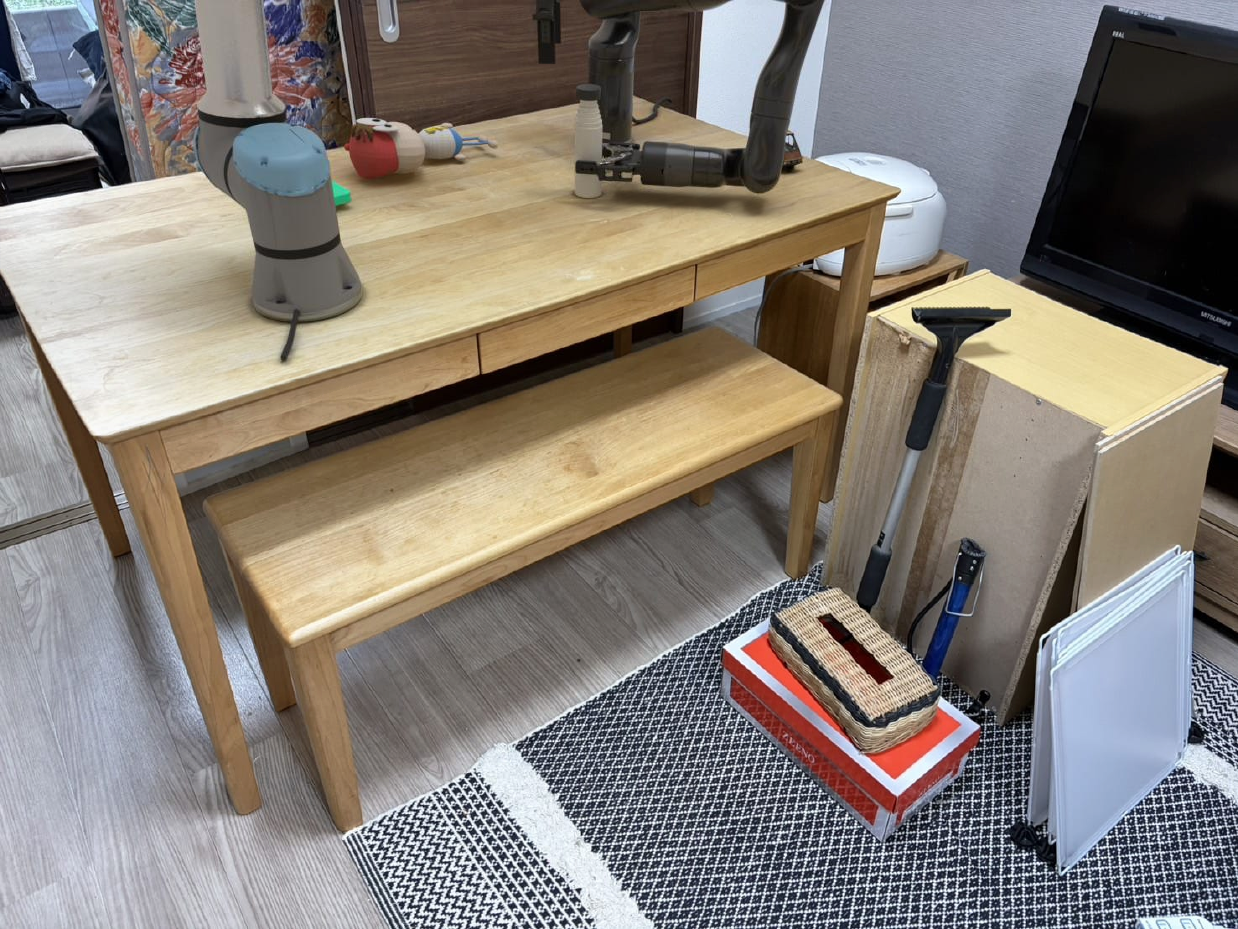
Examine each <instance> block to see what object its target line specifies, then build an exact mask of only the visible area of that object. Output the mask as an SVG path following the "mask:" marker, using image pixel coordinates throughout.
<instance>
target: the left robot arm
mask: <svg viewBox="0 0 1238 929" xmlns="http://www.w3.org/2000/svg"><path fill="white" fill-rule="evenodd" d="M193 1H194V9H195V16H196V24H197V30H198V37H199V38H198V39H199V44H200V51H201V59H202V66H203V67H202V68H203V74H204V80H205V87H206V88H205V89H206V92H205V93H204V94H203V96H202V97H201V98H200V99H199V100H198V101H197V103H196V109H197V114H198V125H197V126H196V127H195V131H194V134H193V141H192V145H193V146H192V147H193V153H194V157H195V160H196V163H197V165H198V167H199V168H200V171H201V172H202V173H203V175H204V176H205V178H206V179H207V180H208V181H209V182H210V183H211V184H212V185H213V186H214V188H216V189H218V190H219V191H221V192H222V193H223V194H225V195H226V196H228V197H229V198H230V199H232V201H234V202H235V203H236V204H238V205H239V206H240V207H241V208H243V209H244V210H245V213H246V215H247V219H248V220H247V221H248V224H249V228H250V234H251V237H252V242H253V247H254V251H255V258H254V264H253V273H252V283H251V299H252V303H253V307H254V309H255V310H256V311H257V313H259V314H260V315H262V316H264V317H266V318H268V319H271V320H275V321H281V322H289V323H290V327H289V331H288V336H287V340H286V343H285V345H284V348H283V349H282V352H281V354H280V358H279V359H280V360H281V361H286V360H287V358H288V356H289V353H290V351H291V350H292V346H293V343H294V340H295V337H296V336H295V335H296V331H297V326H298V323H304V322H314V321H315V322H316V321H320V320H326V319H330V318H332V317H336V316H338V315H341V314H343V313H345V312H348V311H349V310H351V309H353V308H354V307H355V306H356V305H357V304H358V303H359V302H360V301H361V298H362V297H363V287H362V282H361V279H360V276H359V274H358V272H357V270H356V268H355V266H354V264H353V263H352V261H351V259H350V257H349V255H348V253H347V251H346V250H345V248H344V245H343V243H342V239H341V233H340V225H339V219H338V213H337V206H335V200H334V193H333V187H332V181H333V180H332V174H331V169H332V168H331V162H330V160H329V156H328V154H327V151H326V147H325V144H324V142H323V140H322V138H320V136H319V135H317V133H315V132H313V130H310V129H309V128H307V127H304V126H301V125H291V124H290V123H288V116H287V107H286V104H285V103H284V102H283V101H282V100H280V98H279V97H278V96H277V95H275V93H274V90H273V80H272V70H271V62H270V51H269V41H268V30H267V22H266V13H265V2H264V0H193ZM564 1H565V0H535V13H533V14H532V21H533V22H535V21H536V27H537V28H536V29H537V30H536V31H537V52H538V53H537V57H538V61H537V62H538V65H556V45H559V44H562V21H561V18H562V16H561V15H562V14H561V2H564Z"/></svg>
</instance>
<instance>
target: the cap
mask: <svg viewBox="0 0 1238 929" xmlns="http://www.w3.org/2000/svg"><path fill="white" fill-rule="evenodd" d="M575 90H576V91H575V93H576V94H575V95H576V97H575V98H576V99H577V100H579V101H580V100H584V101H595V100H599V99H600V98H601V87H600V86H598V85H595V84H588V83H582V84H578V85H577V86H576V89H575Z"/></svg>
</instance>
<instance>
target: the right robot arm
mask: <svg viewBox="0 0 1238 929" xmlns="http://www.w3.org/2000/svg"><path fill="white" fill-rule="evenodd" d="M732 1H733V0H578V2H579V3H580V6H581V7H582V10H583V11H584V12H585V13H586V14H587V15H589V16H590V17H591V18H594V19H597V20H600V21H602V23H601V25H600V27H599V29H598V30H597V31H596V32H595V33H594V34H593V35H592V36H590V37H589V40H588V48H587V50H588V54H587V57H588V58H587V61H588V62H587V66H588V67H587V68H588V70H587V76H588V77H587V79H588V80H587V84H595V85H598V86H600V87H601V98H600V99H599V100H597V105H598V109H599V111H600V115H601V119H602V161H598V162H597V164H596V161H585V160H577V161H576V163H575V162H574V173H575V172H576V173H577V174H590V175H596V176H597V177H598V180H599V181H602V182H617V183H632V182H633V177H634V176H639V177H640V183H641V185H644V186H653V187H654V186H656V187H667V188H668V187H670V188H687V187H688V188H690V187H692V188H707V189H716V188H721V187H725V186H727V187H729V186H730V187H741V188H742V187H743V188H745V189H746V190H748V191H749V192H751V193H754V194H760V195H761V194H762V195H763V194H766V193H768V192H770V191H771V190H773V189H774V188H775V187H776V186H777V184H778V183H779V181H780V179H781V174H782V169H783V167H782V164H783V157H784V149H785V141H787V140H786V139H787V136H786V134H787V131H788V130H789V127H790V124H791V118H792V115H793V108H794V104H795V101H796V95H797V90H798V85H799V82H800V81H799V80H800V77H801V74H802V69H803V66H804V62H805V60H806V56H807V54H808V53H807V52H808V51H809V47H810V44H811V41H812V38H813V35H814V32H815V29H816V26H817V23H818V20H819V18H820V15H821V13H822V9H823V6H824V4H825V1H826V0H773V1H775V2H779V3H784V4H785V6H784V15H783V16H784V17H783V20H782V25H781V28H780V32H779V34H778V37H777V40H776V42H775V44H774V46H773V48H772V50H771V52H770V54H769V56H768V57H767V59H766V61H765V63H764V64H763V67H762V68H761V71H760V73H759V75H758V78H757V81H756V84H755V89H754V94H753V99H752V105H751V110H750V114H749V115H750V116H749V131H748V136H747V141H746V145H745V147H731V148H730V147H729V148H724V147H723V148H722V147H716V146H705V145H704V146H702V145H692V144H687V143H681V142H665V141H652V140H651V141H650V140H649V141H648V140H645V141H644V142H643V144H642V147H641V144H640V143H634V142H633V135H632V134H633V124H637V125H641V124H645V123H648V122H649V121H650V120H653V119H654V118H655V117H657V115H658V113H659V110H658V107H659V106H660V105H661V104H663V103H664V102H668V103H671V104H673V103H674V101H673V99H672V97H669V96H664V97H662V98H661V99H659V100H658V101H657V102H656V103H654V104H653V113H651V114H649V115H648V116H646V117H645V118H641V119H637V118H635V117H634V116H633V112H634V111H633V108H634V107H633V106H634V78H635V77H634V75H635V74H634V72H635V67H634V66H635V50H636V46H637V43H638V40H639V38H640V37H639V36H640V29H641V28H640V27H641V14H642V13H645V12H646V13H662V14H663V13H668V14H669V13H671V14H672V13H673V14H675V13H694V12H695V13H696V12H705V11H711V10H714V9H717V8H720V7H722V6H724V5H726V4H728V3H730V2H732Z"/></svg>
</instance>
